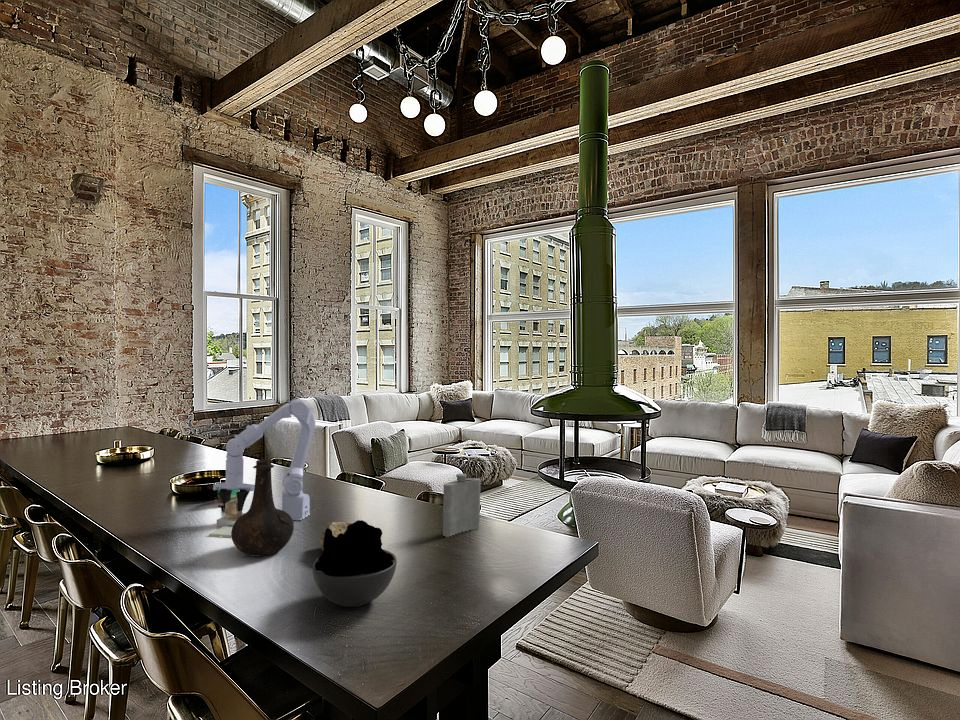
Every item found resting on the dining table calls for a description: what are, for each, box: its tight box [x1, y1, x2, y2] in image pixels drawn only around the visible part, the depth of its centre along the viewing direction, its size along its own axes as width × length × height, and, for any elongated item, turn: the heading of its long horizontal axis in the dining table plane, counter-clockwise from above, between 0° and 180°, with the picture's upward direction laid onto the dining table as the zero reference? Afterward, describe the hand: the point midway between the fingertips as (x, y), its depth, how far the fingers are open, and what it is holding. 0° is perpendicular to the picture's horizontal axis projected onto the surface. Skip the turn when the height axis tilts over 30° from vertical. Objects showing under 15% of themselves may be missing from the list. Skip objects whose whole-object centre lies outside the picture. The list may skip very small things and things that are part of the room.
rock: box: [319, 521, 354, 551], centre depth 156 cm, size 21×14×10 cm
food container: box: [217, 480, 240, 508], centre depth 208 cm, size 12×6×10 cm, turn 179°
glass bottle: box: [230, 458, 295, 557], centre depth 158 cm, size 18×18×28 cm
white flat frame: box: [215, 512, 246, 528], centre depth 183 cm, size 14×9×2 cm, turn 83°
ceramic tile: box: [208, 526, 233, 538], centre depth 173 cm, size 9×8×1 cm
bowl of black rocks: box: [311, 519, 398, 608], centre depth 125 cm, size 20×20×19 cm
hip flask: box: [442, 473, 481, 538], centre depth 179 cm, size 16×4×20 cm, turn 133°
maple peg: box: [224, 500, 243, 519], centre depth 183 cm, size 4×4×7 cm
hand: (233, 510), depth 183 cm, fingers closed on maple peg, 4 cm apart
